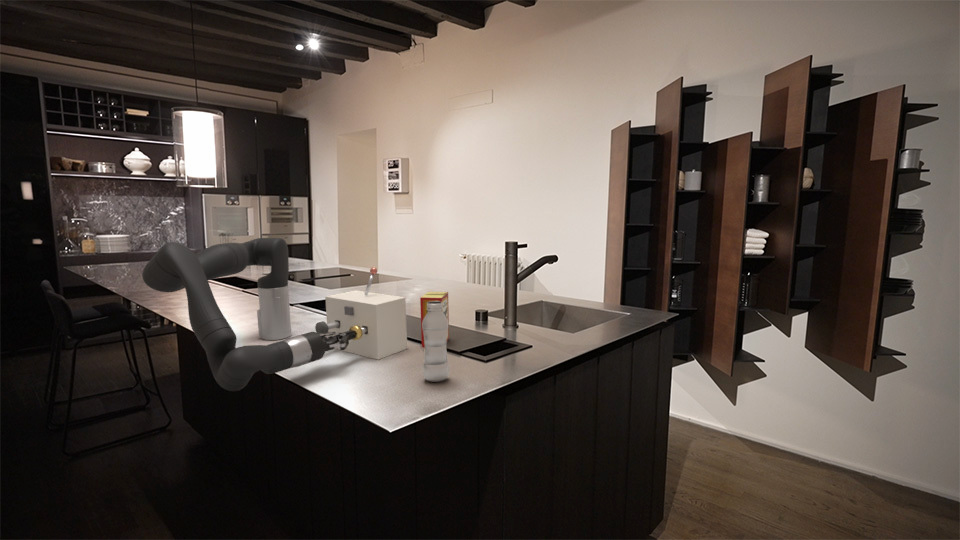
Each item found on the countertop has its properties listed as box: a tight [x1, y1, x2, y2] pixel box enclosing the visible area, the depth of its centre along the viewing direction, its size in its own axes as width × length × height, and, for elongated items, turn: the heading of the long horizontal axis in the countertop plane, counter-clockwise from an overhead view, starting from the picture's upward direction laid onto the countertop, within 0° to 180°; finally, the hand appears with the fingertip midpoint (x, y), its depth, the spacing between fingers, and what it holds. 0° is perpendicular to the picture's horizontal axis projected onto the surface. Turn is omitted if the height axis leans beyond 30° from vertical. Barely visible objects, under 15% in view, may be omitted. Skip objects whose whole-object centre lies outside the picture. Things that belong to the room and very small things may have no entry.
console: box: [324, 289, 408, 361], centre depth 147 cm, size 22×13×16 cm, turn 56°
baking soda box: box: [419, 291, 450, 348], centre depth 152 cm, size 10×6×16 cm
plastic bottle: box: [422, 301, 450, 383], centre depth 120 cm, size 6×7×20 cm
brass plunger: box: [349, 325, 368, 340], centre depth 139 cm, size 4×7×4 cm, turn 146°
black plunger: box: [314, 320, 340, 333], centre depth 144 cm, size 4×7×4 cm, turn 146°
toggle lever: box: [364, 267, 378, 296], centre depth 148 cm, size 2×2×9 cm
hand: (354, 333), depth 136 cm, fingers closed
